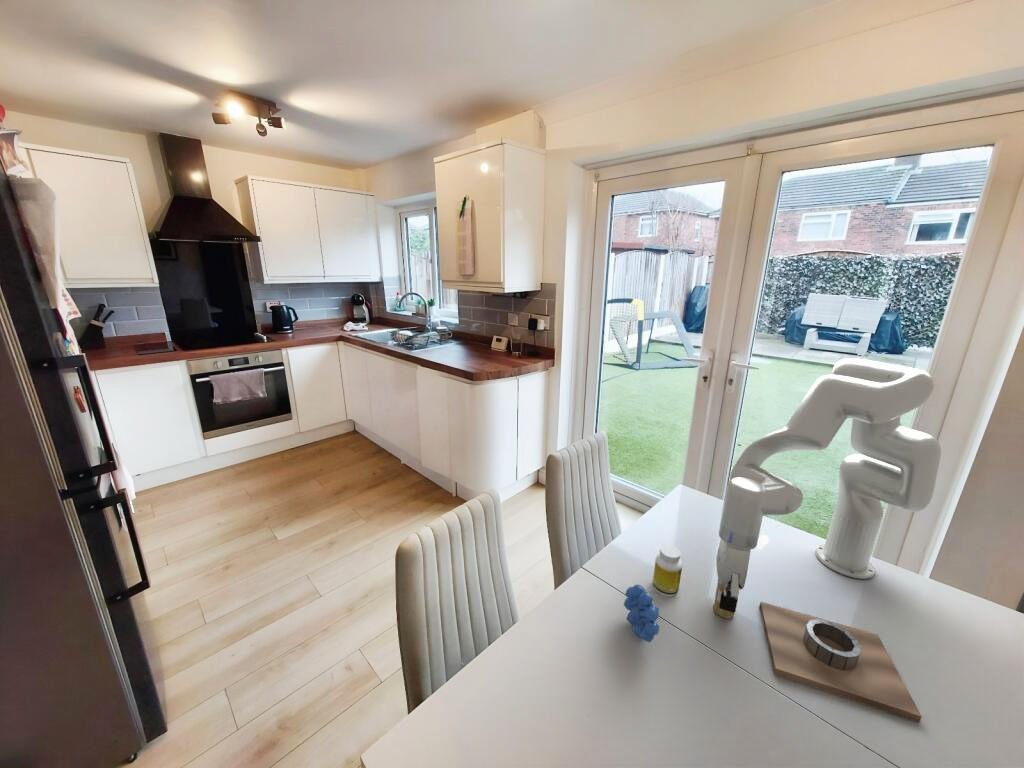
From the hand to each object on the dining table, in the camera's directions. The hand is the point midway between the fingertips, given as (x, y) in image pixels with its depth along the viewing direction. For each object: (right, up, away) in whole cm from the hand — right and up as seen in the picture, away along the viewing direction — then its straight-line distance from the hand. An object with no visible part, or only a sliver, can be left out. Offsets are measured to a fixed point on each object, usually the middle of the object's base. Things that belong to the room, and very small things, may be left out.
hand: (725, 599), depth 92 cm
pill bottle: (-11, -2, +8) cm, 14 cm away
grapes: (-21, -5, -5) cm, 22 cm away
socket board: (+16, -6, -10) cm, 20 cm away
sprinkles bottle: (0, -4, +1) cm, 4 cm away
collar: (+16, -5, -10) cm, 20 cm away
